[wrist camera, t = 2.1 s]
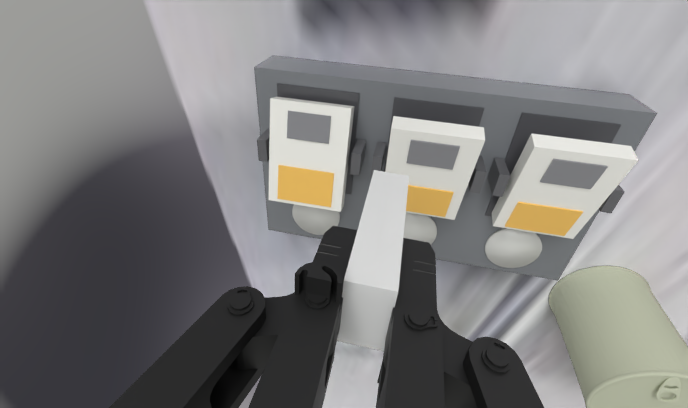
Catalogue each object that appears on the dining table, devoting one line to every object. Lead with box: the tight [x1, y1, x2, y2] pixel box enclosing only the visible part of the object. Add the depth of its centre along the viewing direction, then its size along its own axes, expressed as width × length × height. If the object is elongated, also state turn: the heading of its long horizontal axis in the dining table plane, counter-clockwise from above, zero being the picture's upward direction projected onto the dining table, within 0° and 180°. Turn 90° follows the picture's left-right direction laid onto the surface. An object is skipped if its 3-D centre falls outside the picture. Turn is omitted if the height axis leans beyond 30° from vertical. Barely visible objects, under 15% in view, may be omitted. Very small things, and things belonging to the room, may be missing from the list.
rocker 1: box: [268, 97, 354, 212], centre depth 27 cm, size 8×6×2 cm
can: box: [549, 266, 688, 408], centre depth 33 cm, size 9×9×12 cm
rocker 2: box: [492, 133, 639, 239], centre depth 25 cm, size 8×6×2 cm
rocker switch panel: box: [254, 56, 657, 280], centre depth 30 cm, size 16×28×7 cm, turn 87°
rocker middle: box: [385, 116, 485, 220], centre depth 26 cm, size 8×6×2 cm
